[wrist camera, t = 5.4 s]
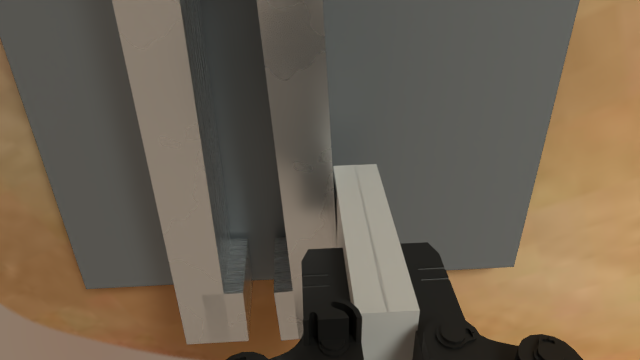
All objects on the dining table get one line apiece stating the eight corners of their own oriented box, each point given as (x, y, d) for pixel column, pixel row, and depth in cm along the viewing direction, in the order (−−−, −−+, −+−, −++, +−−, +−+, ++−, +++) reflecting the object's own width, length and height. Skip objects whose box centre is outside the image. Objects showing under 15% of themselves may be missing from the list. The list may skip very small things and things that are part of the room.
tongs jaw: (221, -142, 14) (208, -140, 11) (307, -148, 14) (313, -149, 11) (281, 283, 22) (281, 340, 19) (335, 278, 22) (342, 334, 19)
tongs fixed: (94, -285, 12) (12, -347, 8) (236, -285, 12) (217, -346, 9) (198, 283, 22) (181, 372, 18) (277, 279, 22) (277, 366, 18)
